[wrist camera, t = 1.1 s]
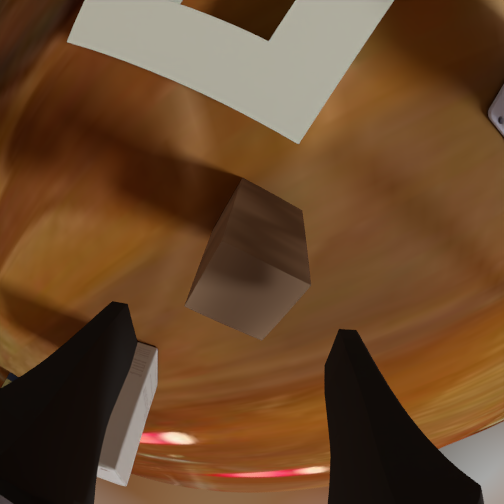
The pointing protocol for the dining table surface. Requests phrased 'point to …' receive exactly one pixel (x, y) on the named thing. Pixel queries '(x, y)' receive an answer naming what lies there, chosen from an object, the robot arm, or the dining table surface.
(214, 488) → the dining table surface
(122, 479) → the supplement box
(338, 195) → the dining table surface
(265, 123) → the socket block
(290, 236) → the peg
